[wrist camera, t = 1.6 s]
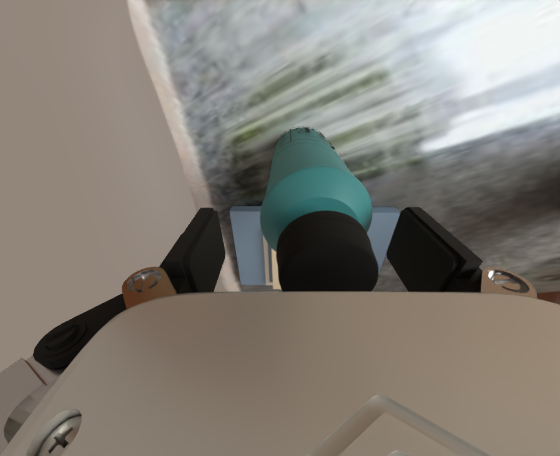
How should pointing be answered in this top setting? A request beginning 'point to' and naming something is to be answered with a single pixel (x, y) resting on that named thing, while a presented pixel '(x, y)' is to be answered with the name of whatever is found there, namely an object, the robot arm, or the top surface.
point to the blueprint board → (255, 246)
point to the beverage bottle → (317, 218)
